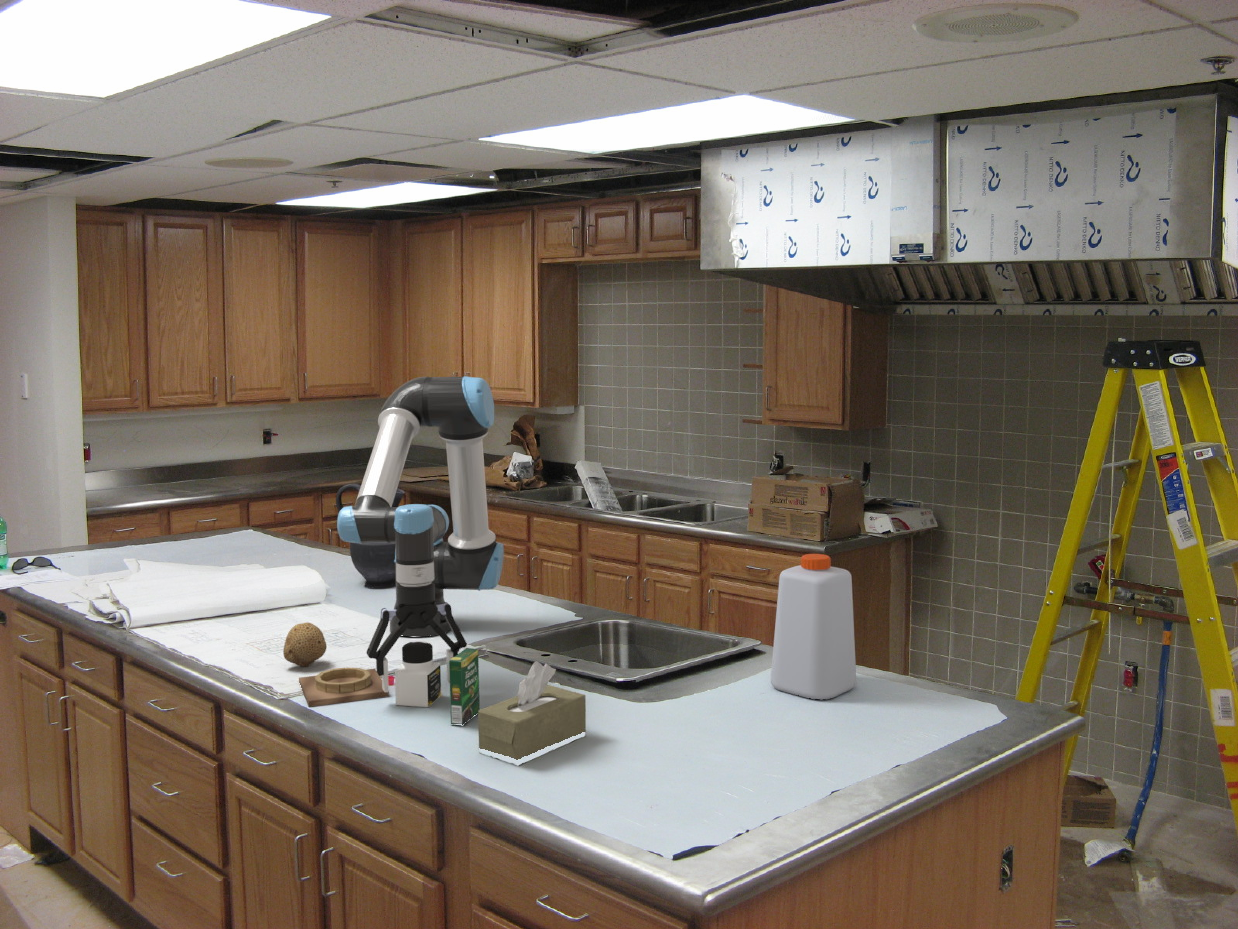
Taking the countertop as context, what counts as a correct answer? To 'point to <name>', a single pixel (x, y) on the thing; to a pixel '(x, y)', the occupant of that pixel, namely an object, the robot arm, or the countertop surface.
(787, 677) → the plastic bottle
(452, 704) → the coffee box
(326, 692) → the collar board
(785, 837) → the countertop surface
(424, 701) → the medicine bottle
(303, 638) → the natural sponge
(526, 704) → the tissue box
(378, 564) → the pitcher
